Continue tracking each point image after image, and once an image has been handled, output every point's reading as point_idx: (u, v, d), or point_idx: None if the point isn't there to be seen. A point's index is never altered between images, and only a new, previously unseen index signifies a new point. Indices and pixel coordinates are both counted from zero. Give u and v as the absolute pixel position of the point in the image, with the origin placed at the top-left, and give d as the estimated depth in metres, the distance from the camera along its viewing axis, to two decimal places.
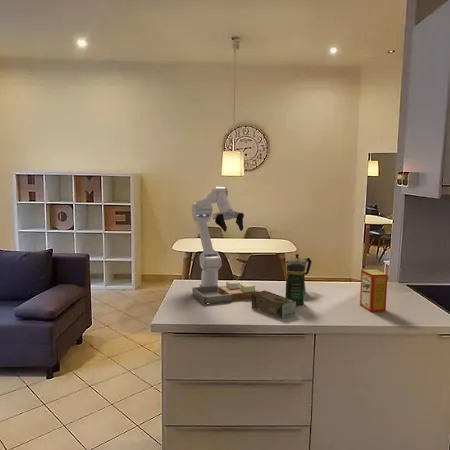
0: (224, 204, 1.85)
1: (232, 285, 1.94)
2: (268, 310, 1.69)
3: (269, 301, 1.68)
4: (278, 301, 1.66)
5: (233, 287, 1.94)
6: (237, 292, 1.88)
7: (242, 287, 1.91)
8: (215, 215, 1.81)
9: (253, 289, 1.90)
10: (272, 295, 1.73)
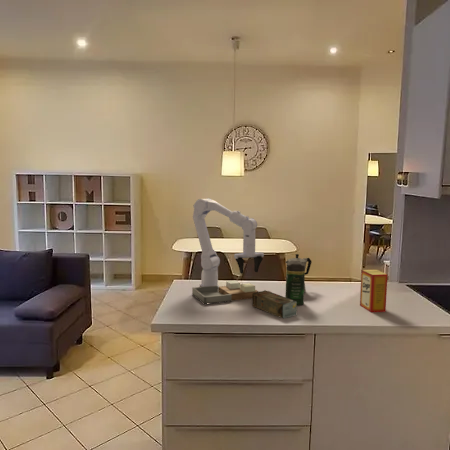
0: (249, 246, 1.95)
1: (232, 285, 1.94)
2: (269, 310, 1.69)
3: (270, 301, 1.68)
4: (279, 301, 1.66)
5: (233, 287, 1.94)
6: (237, 292, 1.88)
7: (242, 287, 1.91)
8: (237, 257, 1.95)
9: (253, 289, 1.90)
10: (273, 295, 1.74)
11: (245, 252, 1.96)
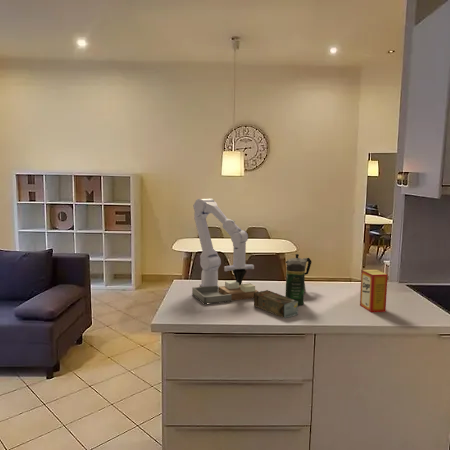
0: (239, 259, 1.94)
1: (231, 285, 1.94)
2: (270, 310, 1.69)
3: (271, 301, 1.68)
4: (280, 301, 1.67)
5: (232, 287, 1.94)
6: (237, 292, 1.88)
7: (242, 287, 1.91)
8: (227, 270, 1.94)
9: (253, 289, 1.90)
10: (274, 295, 1.74)
11: (235, 264, 1.95)
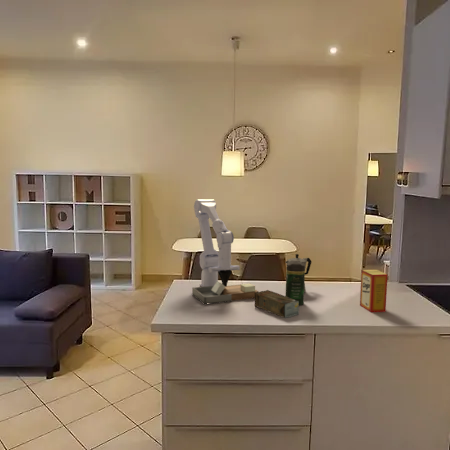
0: (224, 260, 1.91)
1: (218, 291, 1.91)
2: (271, 309, 1.69)
3: (272, 300, 1.69)
4: (281, 301, 1.67)
5: (220, 292, 1.92)
6: (237, 292, 1.88)
7: (242, 287, 1.91)
8: (212, 271, 1.91)
9: (253, 289, 1.90)
10: (275, 295, 1.74)
11: (220, 265, 1.92)
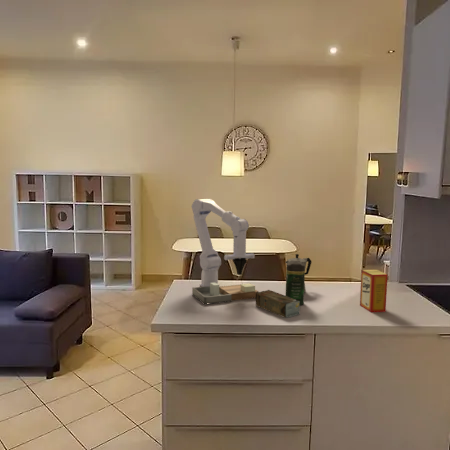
0: (239, 248, 1.91)
1: (216, 293, 1.91)
2: (272, 309, 1.70)
3: (273, 300, 1.69)
4: (282, 300, 1.67)
5: (218, 292, 1.91)
6: (237, 292, 1.88)
7: (242, 287, 1.91)
8: (227, 259, 1.91)
9: (253, 289, 1.90)
10: (276, 294, 1.74)
11: (235, 253, 1.92)
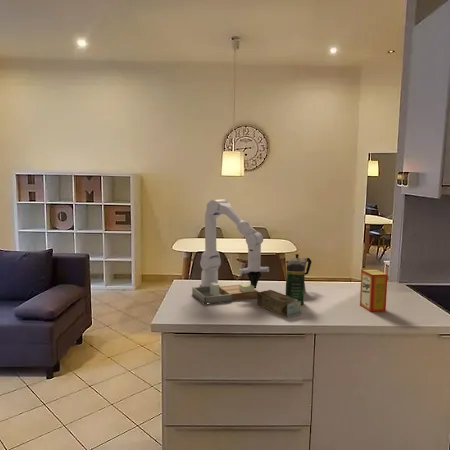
0: (254, 261, 1.89)
1: (216, 293, 1.91)
2: (273, 309, 1.70)
3: (274, 300, 1.69)
4: (283, 300, 1.67)
5: (218, 292, 1.91)
6: (237, 292, 1.88)
7: (241, 287, 1.91)
8: (242, 272, 1.89)
9: (252, 289, 1.90)
10: (277, 294, 1.75)
11: (250, 267, 1.90)
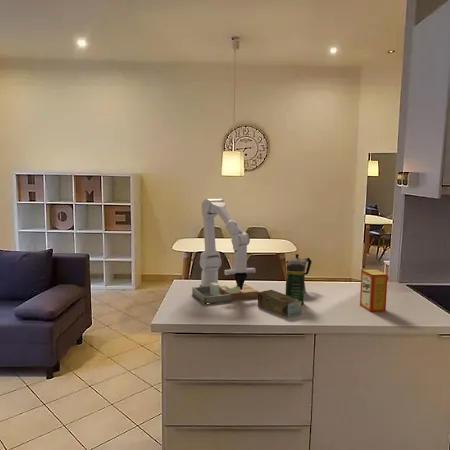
0: (240, 262, 1.86)
1: (216, 293, 1.91)
2: (274, 309, 1.70)
3: (275, 300, 1.69)
4: (284, 300, 1.68)
5: (218, 292, 1.91)
6: None
7: (227, 288, 1.88)
8: (227, 274, 1.86)
9: (238, 291, 1.87)
10: (278, 294, 1.75)
11: (236, 268, 1.87)
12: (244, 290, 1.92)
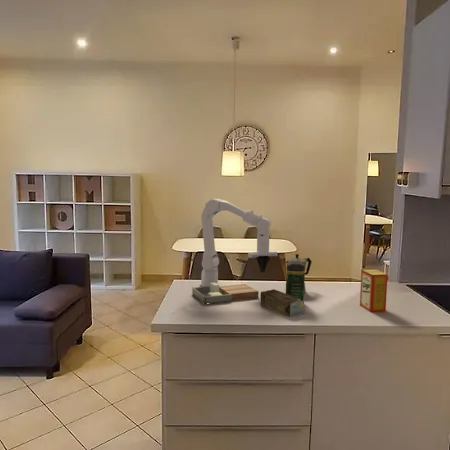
0: (263, 246, 1.95)
1: None
2: (276, 309, 1.71)
3: (277, 300, 1.70)
4: (286, 300, 1.68)
5: None
6: (237, 292, 1.88)
7: None
8: (251, 256, 1.95)
9: None
10: (281, 294, 1.75)
11: (259, 251, 1.96)
12: (244, 290, 1.92)
